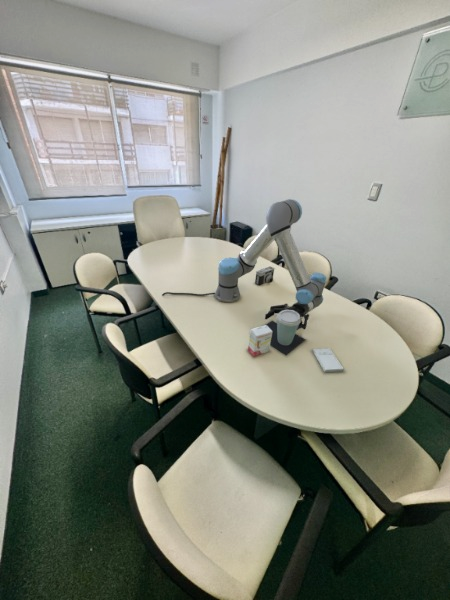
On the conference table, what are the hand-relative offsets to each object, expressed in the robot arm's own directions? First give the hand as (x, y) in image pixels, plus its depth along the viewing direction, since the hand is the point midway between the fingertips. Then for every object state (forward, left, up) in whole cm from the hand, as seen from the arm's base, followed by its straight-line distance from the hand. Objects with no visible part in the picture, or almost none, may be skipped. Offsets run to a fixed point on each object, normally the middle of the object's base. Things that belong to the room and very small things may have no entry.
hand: (277, 323), depth 111 cm
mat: (+2, +2, -10) cm, 10 cm away
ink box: (-7, -9, -10) cm, 15 cm away
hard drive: (+22, -11, -10) cm, 26 cm away
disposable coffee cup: (+4, -1, -9) cm, 10 cm away
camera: (-3, +59, -10) cm, 60 cm away
